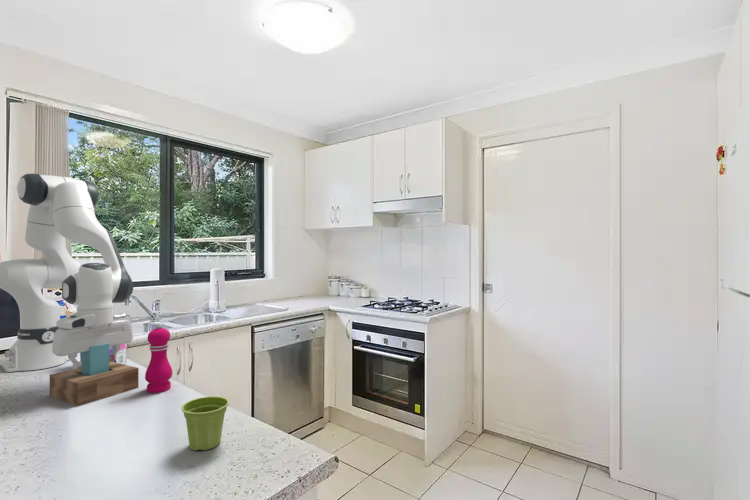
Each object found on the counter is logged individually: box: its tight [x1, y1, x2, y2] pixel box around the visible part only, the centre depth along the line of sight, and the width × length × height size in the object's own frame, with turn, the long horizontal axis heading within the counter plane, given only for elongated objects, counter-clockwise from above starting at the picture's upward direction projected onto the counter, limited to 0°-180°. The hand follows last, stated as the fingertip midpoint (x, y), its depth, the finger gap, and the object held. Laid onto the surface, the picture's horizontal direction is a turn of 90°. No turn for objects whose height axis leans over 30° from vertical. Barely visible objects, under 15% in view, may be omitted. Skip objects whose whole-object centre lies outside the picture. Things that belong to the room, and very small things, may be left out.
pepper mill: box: [144, 322, 173, 394], centre depth 117 cm, size 7×7×20 cm
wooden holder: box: [48, 361, 139, 407], centre depth 115 cm, size 16×16×6 cm
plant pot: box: [180, 395, 230, 451], centre depth 83 cm, size 9×9×9 cm
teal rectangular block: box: [81, 343, 109, 376], centre depth 115 cm, size 5×5×14 cm
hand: (95, 364), depth 115 cm, fingers open, 8 cm apart
